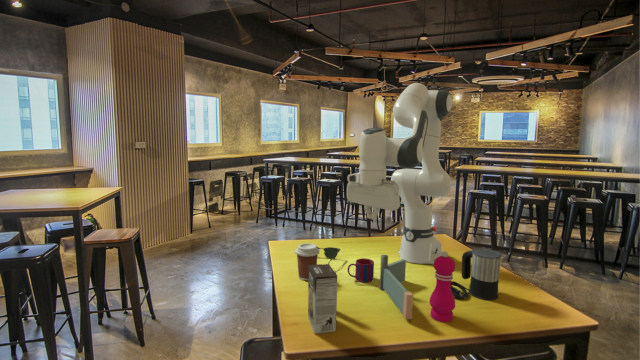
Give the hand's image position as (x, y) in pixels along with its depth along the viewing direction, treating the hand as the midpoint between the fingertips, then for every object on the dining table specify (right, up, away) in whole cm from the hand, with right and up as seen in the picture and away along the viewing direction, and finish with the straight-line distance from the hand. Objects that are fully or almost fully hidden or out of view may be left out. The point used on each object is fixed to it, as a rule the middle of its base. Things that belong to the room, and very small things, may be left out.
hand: (371, 218), depth 119 cm
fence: (-1, -26, +1) cm, 25 cm away
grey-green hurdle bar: (+7, -26, -7) cm, 27 cm away
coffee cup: (-22, -24, +15) cm, 36 cm away
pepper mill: (+19, -28, -13) cm, 36 cm away
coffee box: (-17, -28, -19) cm, 38 cm away
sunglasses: (-19, -22, +30) cm, 41 cm away
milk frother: (+34, -26, +2) cm, 43 cm away
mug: (-2, -24, +13) cm, 28 cm away
